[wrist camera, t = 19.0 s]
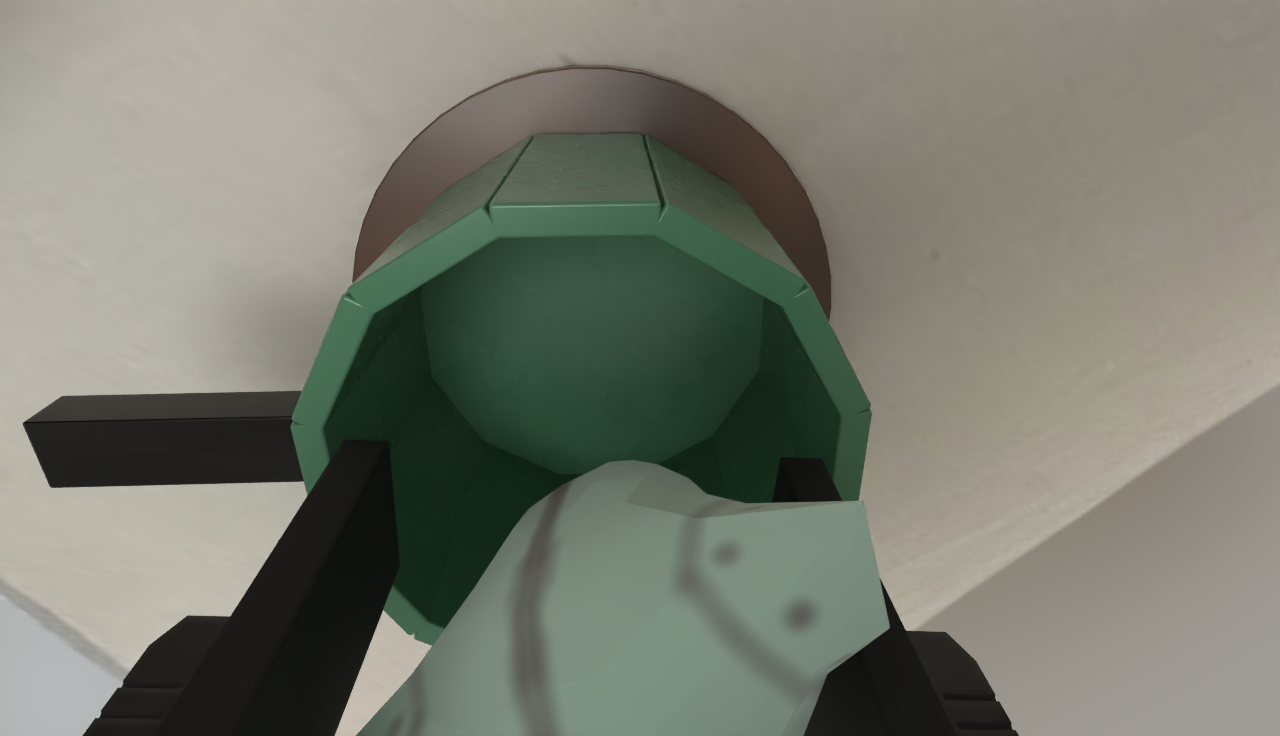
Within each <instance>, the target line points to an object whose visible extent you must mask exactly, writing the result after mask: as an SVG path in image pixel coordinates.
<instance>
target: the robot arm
mask: <svg viewBox="0 0 1280 736" xmlns="http://www.w3.org/2000/svg"><path fill="white" fill-rule="evenodd" d="M828 501H842V499H841V497H840V495H839V492H838V490H837V488H836V486H835V484H834V482H833V480H832V478H831V476H830V474H829V472H828V470H827V468H826V466H825V464H824V462H823V460H822V459H817V458H793V457H780V462H779V467H778V473H777V478H776V484H775V489H774V495H773V500H772V503H787V502H828ZM399 567H400V557H399V546H398V535H397V525H396V514H395V503H394V492H393V481H392V471H391V460H390V449H389V441H370V440H345V439H344V440H343V441H342V443H341V444H340V446H339V448H338V449H337V451H336V452H335V454H334V455H333V457H332V458H331V460H330V462H329V463H328V465H327V466H326V468H325V469H324V471H323V473H322V474H321V476H320V477H319V479H318V480H317V482H316V484H315V485H314V487H313V488H312V490H311V491H310V493H309V494H308V496H307V498H306V499H305V501H304V502H303V504H302V505H301V507H300V509H299V510H298V512H297V513H296V515H295V516H294V518H293V520H292V521H291V523H290V524H289V526H288V527H287V529H286V530H285V532H284V534H283V535H282V537H281V538H280V540H279V541H278V543H277V545H276V546H275V548H274V549H273V551H272V552H271V554H270V555H269V557H268V559H267V560H266V562H265V563H264V565H263V566H262V568H261V570H260V571H259V573H258V574H257V576H256V577H255V579H254V581H253V582H252V584H251V585H250V587H249V588H248V590H247V591H246V593H245V595H244V596H243V598H242V599H241V601H240V602H239V604H238V606H237V607H236V609H235V610H234V612H233V613H232V615H231V617H223V616H187V617H185V618H184V619H183V620H181V621H180V622H179V623H177V624H176V625H175V626H174V627H172V628H171V629H170V630H168V631H167V632H166V633H165V634H163V635H162V636H161V637H159V638H158V639H157V640H156V641H154V642H153V643H152V644H150V645H149V647H148V648H147V649H146V651H145V652H144V653H143V655H142V656H141V657H140V659H139V660H138V661H137V663H136V664H135V665H134V667H133V668H132V670H131V671H130V672H129V674H128V675H127V676H126V678H125V679H124V680H123V686H122V687H121V688H117V690H116V691H115V693H114V694H113V695H112V697H111V698H110V699H109V701H108V702H107V703H106V705H105V706H104V707H103V709H102V710H101V716H100V717H99V718H95V720H94V721H93V722H92V724H91V725H90V726H89V728H88V729H87V730H86V732H85V733H84V735H83V736H335V733H336V730H337V728H338V725H339V723H340V720H341V718H342V715H343V712H344V710H345V707H346V705H347V702H348V699H349V697H350V694H351V692H352V689H353V686H354V684H355V681H356V679H357V676H358V674H359V671H360V668H361V666H362V663H363V661H364V658H365V655H366V653H367V650H368V648H369V645H370V642H371V640H372V637H373V635H374V632H375V630H376V627H377V624H378V622H379V619H380V617H381V614H382V611H383V609H384V606H385V604H386V601H387V598H388V596H389V593H390V591H391V588H392V585H393V583H394V580H395V578H396V575H397V573H398V570H399ZM879 578H880V577H879ZM880 583H881V587H882V592H883V597H884V601H885V606H886V611H887V616H888V620H889V625H890V628H889V629H888V630H887V631H885V632H884V633H882V634H881V635H880V636H878V637H877V638H876V639H874V640H873V641H872V642H870V643H869V644H867V645H866V646H865V647H863V648H862V649H861V650H859V651H858V652H857V653H855V654H854V655H852V656H851V657H850V658H848V659H847V660H846V661H844V662H843V663H842V664H840V665H839V666H837V667H836V668H835V669H833V670H832V671H831V672H829V673H828V674H827V676H826V679H825V682H824V684H823V687H822V689H821V692H820V694H819V697H818V700H817V702H816V705H815V707H814V710H813V712H812V715H811V718H810V720H809V723H808V725H807V728H806V730H805V733H804V736H1019V735H1018V733H1017V732H1016V730H1012V727H1011V722H1010V719H1009V718H1008V716H1007V714H1006V713H1005V711H1004V709H1003V707H1002V706H1001V704H1000V702H999V701H998V702H997V701H996V699H995V693H994V692H993V690H992V688H991V686H990V685H989V683H988V681H987V679H986V678H985V676H984V674H983V672H982V671H981V669H980V667H979V665H978V664H977V662H976V661H975V660H974V659H973V658H972V657H971V656H970V655H969V654H968V653H967V652H966V651H965V650H964V649H963V648H962V647H961V646H960V645H959V644H958V643H956V642H955V641H954V640H953V639H952V638H951V637H950V636H949V635H948V634H947V633H946V632H924V631H906V630H905V628H904V626H903V624H902V622H901V620H900V618H899V616H898V614H897V612H896V610H895V608H894V606H893V604H892V601H891V599H890V597H889V595H888V593H887V591H886V589H885V587H884V585H883V583H882V581H881V579H880Z"/></svg>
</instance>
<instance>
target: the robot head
mask: <svg viewBox="0 0 1280 736" xmlns="http://www.w3.org/2000/svg"><path fill="white" fill-rule="evenodd" d="M889 628H890V625H889V620H888V616H887V611H886V606H885V601H884V597H883V592H882V587H881V583H880V578H879V573H878V569H877V564H876V559H875V554H874V550H873V545H872V540H871V536H870V531H869V526H868V522H867V517H866V512H865V507H864V503H863V501H828V502H787V503H743V502H739V501H734V500H730V499H726V498H721V497H717V496H713V495H709V494H706V493H705V492H704V491H702V490H701V489H700V488H699V487H698V486H697V485H696V484H695V483H694V482H692V481H691V480H690V479H689V478H687V477H685V476H682V475H680V474H678V473H676V472H673V471H671V470H669V469H667V468H664V467H662V466H660V465H658V464H653V463H648V462H642V461H636V460H626V461H612V462H608V463H606V464H604V465H602V466H600V467H598V468H596V469H594V470H592V471H590V472H588V473H586V474H584V475H582V476H580V477H578V478H576V479H574V480H572V481H570V482H568V483H566V484H564V485H562V486H560V487H559V488H558V489H556V490H555V491H553V492H552V493H550V494H549V495H547V496H546V497H545V498H543V499H542V500H540V501H539V502H537V503H536V504H534V505H533V506H532V507H530V508H529V509H528V510H527V512H526V513H525V514H524V515H523V517H522V518H521V519H520V520H519V522H518V523H517V524H516V526H515V527H514V528H513V530H512V531H511V533H510V534H509V536H508V537H507V539H506V540H505V542H504V543H503V545H502V546H501V548H500V549H499V551H498V552H497V554H496V556H495V557H494V559H493V560H492V562H491V563H490V565H489V566H488V568H487V569H486V571H485V572H484V574H483V575H482V577H481V578H480V580H479V582H478V583H477V585H476V586H475V588H474V589H473V590H472V592H471V593H470V595H469V596H468V597H467V599H466V600H465V601H464V603H463V604H462V606H461V607H460V608H459V610H458V611H457V613H456V614H455V615H454V617H453V618H452V619H451V621H450V622H449V624H448V625H447V626H446V628H445V629H444V631H443V632H442V633H441V635H440V636H439V638H438V639H437V640H436V642H435V643H434V644H433V646H432V647H431V649H430V650H429V651H428V653H427V654H426V656H425V657H424V658H423V660H422V661H421V663H420V664H419V665H418V667H417V668H416V669H415V671H414V672H413V674H412V675H411V676H410V677H409V678H408V679H407V680H406V681H405V682H404V684H403V685H402V686H401V687H400V688H399V689H398V690H397V691H396V692H395V693H394V695H393V696H392V697H391V698H390V699H389V700H388V701H387V702H386V703H385V704H384V706H383V707H382V708H381V709H380V710H379V711H378V712H377V713H376V714H375V715H374V716H373V718H372V719H371V720H370V721H369V722H368V723H367V724H366V725H365V726H364V727H363V729H362V730H361V731H360V732H359V733H358V734H357V735H356V736H804V733H805V730H806V728H807V725H808V723H809V720H810V718H811V715H812V712H813V710H814V707H815V705H816V702H817V700H818V697H819V694H820V692H821V689H822V687H823V684H824V682H825V679H826V676H827V674H828V673H829V672H831V671H832V670H833V669H835V668H836V667H837V666H839V665H840V664H842V663H843V662H844V661H846V660H847V659H848V658H850V657H851V656H852V655H854V654H855V653H857V652H858V651H859V650H861V649H862V648H863V647H865V646H866V645H867V644H869V643H870V642H872V641H873V640H874V639H876V638H877V637H878V636H880V635H881V634H882V633H884V632H885V631H887V630H888V629H889Z"/></svg>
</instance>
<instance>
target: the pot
mask: <svg viewBox="0 0 1280 736" xmlns="http://www.w3.org/2000/svg"><path fill="white" fill-rule="evenodd" d="M869 408H870V402H869V400H868V398H867V396H866V394H865V392H864V390H863V388H862V386H861V384H860V382H859V380H858V378H857V376H856V374H855V372H854V370H853V368H852V366H851V365H850V363H849V361H848V359H847V357H846V355H845V353H844V351H843V349H842V347H841V345H840V343H839V341H838V339H837V337H836V335H835V333H834V331H833V329H832V327H831V325H830V323H829V321H828V319H827V317H826V315H825V313H824V311H823V309H822V307H821V305H820V303H819V301H818V299H817V297H816V295H815V293H814V291H813V289H812V287H811V286H810V285H809V283H808V282H807V281H806V279H805V278H804V277H803V275H802V274H801V273H800V272H799V270H798V269H797V268H796V266H795V265H794V264H793V262H792V261H791V260H790V258H789V257H788V256H787V254H786V253H785V252H784V250H783V249H782V248H781V247H780V245H779V244H778V243H777V241H776V240H775V239H774V237H773V236H772V235H771V233H770V232H769V231H768V229H767V228H766V227H765V225H764V224H763V223H762V221H761V220H760V219H759V218H758V216H757V215H756V214H755V212H754V211H753V210H752V208H751V207H750V206H749V204H748V203H747V202H746V200H745V199H744V198H743V196H742V195H741V194H740V192H739V191H738V190H736V189H735V187H734V186H733V185H731V184H730V183H728V182H726V181H724V180H723V179H721V178H719V177H718V176H716V175H714V174H713V173H711V172H709V171H708V170H706V169H704V168H702V167H701V166H699V165H697V164H696V163H694V162H692V161H691V160H689V159H687V158H686V157H684V156H682V155H680V154H679V153H677V152H675V151H674V150H672V149H670V148H669V147H667V146H665V145H664V144H662V143H660V142H658V141H657V140H655V139H653V138H652V137H650V136H648V135H645V136H644V138H643V137H642V134H640V133H608V134H537V135H535V137H534V138H533V137H532V136H529V137H528V138H526V139H525V140H523V141H521V142H520V143H518V144H517V145H515V146H514V147H512V148H510V149H509V150H507V151H506V152H504V153H503V154H501V155H499V156H498V157H496V158H495V159H493V160H491V161H490V162H488V163H487V164H485V165H484V166H482V167H480V168H479V169H477V170H476V171H474V172H473V173H471V174H469V175H468V176H466V177H465V178H463V179H462V180H460V181H458V182H457V183H455V184H454V185H452V186H451V187H449V188H447V189H446V190H445V191H444V192H443V193H442V194H441V195H440V196H439V197H438V198H437V199H436V200H435V201H434V202H433V203H432V204H431V205H430V206H429V207H428V208H427V209H426V210H425V211H424V212H423V213H422V214H421V215H420V216H419V217H418V218H417V219H416V220H415V221H414V222H413V223H412V224H411V225H410V226H409V227H408V228H407V229H406V230H405V231H404V232H403V233H402V234H401V235H400V236H399V237H398V238H397V239H396V240H395V241H394V242H393V243H392V244H391V245H390V246H389V247H388V248H387V249H386V250H385V251H384V252H383V253H382V254H381V255H380V256H379V257H378V258H377V259H376V260H375V262H374V263H373V264H372V265H371V266H370V267H369V268H368V269H367V270H366V271H365V272H364V273H363V274H362V275H361V276H360V277H359V278H358V279H357V280H356V281H355V282H354V283H353V284H352V285H351V286H350V287H349V288H348V290H347V291H346V292H345V293H344V294H343V295H342V297H341V299H340V302H339V304H338V306H337V309H336V311H335V313H334V316H333V318H332V321H331V323H330V325H329V328H328V330H327V333H326V335H325V337H324V340H323V342H322V345H321V347H320V349H319V352H318V354H317V357H316V359H315V361H314V364H313V366H312V369H311V371H310V373H309V376H308V378H307V380H306V383H305V385H304V388H303V390H302V391H276V392H229V393H182V394H135V395H88V396H62V397H60V398H59V399H57V400H56V401H54V402H53V403H51V404H50V405H48V406H47V407H45V408H44V409H42V410H41V411H40V412H38V413H37V414H35V415H34V416H32V417H31V418H29V419H28V420H26V421H25V422H23V426H24V428H25V431H26V433H27V435H28V437H29V440H30V442H31V444H32V447H33V449H34V451H35V454H36V456H37V458H38V460H39V463H40V465H41V467H42V470H43V472H44V474H45V477H46V479H47V481H48V483H49V486H50V487H51V488H62V487H102V486H142V485H181V484H221V483H261V482H301V481H304V483H305V487H306V491H307V495H308V494H309V493H310V491H311V490H312V488H313V487H314V485H315V484H316V482H317V480H318V479H319V477H320V476H321V474H322V473H323V471H324V469H325V468H326V466H327V465H328V463H329V462H330V460H331V458H332V457H333V455H334V454H335V452H336V451H337V449H338V448H339V446H340V444H341V443H342V441H343V440H344V439H345V440H370V441H389V449H390V460H391V471H392V481H393V492H394V503H395V514H396V525H397V535H398V546H399V557H400V567H399V570H398V573H397V575H396V578H395V580H394V583H393V585H392V588H391V591H390V593H389V596H388V598H387V601H386V604H385V606H384V609H383V610H384V611H385V612H386V613H387V614H388V615H389V616H390V617H391V618H392V619H393V620H394V621H395V622H396V623H397V624H398V625H399V626H400V627H401V628H402V629H403V630H404V631H405V632H406V633H407V634H409V635H412V634H414V633H415V635H414V639H416V640H418V641H421V642H424V643H427V644H429V645H432V646H433V644H434V643H435V642H436V640H437V639H438V638H439V636H440V635H441V633H442V632H443V631H444V629H445V628H446V626H447V625H448V624H449V622H450V621H451V619H452V618H453V617H454V615H455V614H456V613H457V611H458V610H459V608H460V607H461V606H462V604H463V603H464V601H465V600H466V599H467V597H468V596H469V595H470V593H471V592H472V590H473V589H474V588H475V586H476V585H477V583H478V582H479V580H480V578H481V577H482V575H483V574H484V572H485V571H486V569H487V568H488V566H489V565H490V563H491V562H492V560H493V559H494V557H495V556H496V554H497V552H498V551H499V549H500V548H501V546H502V545H503V543H504V542H505V540H506V539H507V537H508V536H509V534H510V533H511V531H512V530H513V528H514V527H515V526H516V524H517V523H518V522H519V520H520V519H521V518H522V517H523V515H524V514H525V513H526V512H527V510H528V509H529V508H530V507H532V506H533V505H534V504H536V503H537V502H539V501H540V500H542V499H543V498H545V497H546V496H547V495H549V494H550V493H552V492H553V491H555V490H556V489H558V488H559V487H560V486H562V485H564V484H566V483H568V482H570V481H572V480H574V479H576V478H578V477H580V476H582V475H584V474H586V473H588V472H590V471H592V470H594V469H596V468H598V467H600V466H602V465H604V464H606V463H608V462H612V461H626V460H636V461H642V462H648V463H653V464H658V465H660V466H662V467H664V468H667V469H669V470H671V471H673V472H676V473H678V474H680V475H682V476H685V477H687V478H689V479H690V480H691V481H692V482H694V483H695V484H696V485H697V486H698V487H699V488H700V489H701V490H702V491H704V492H705V493H706V494H709V495H713V496H717V497H721V498H726V499H730V500H734V501H739V502H743V503H772V500H773V495H774V489H775V484H776V478H777V473H778V467H779V462H780V457H793V458H817V459H822V460H823V462H824V464H825V466H826V468H827V470H828V472H829V474H830V476H831V478H832V480H833V482H834V484H835V486H836V488H837V490H838V492H839V495H840V497H841V499H842V501H858V500H859V494H860V487H861V481H862V474H863V468H864V461H865V455H866V448H867V442H868V435H869V429H870V422H871V416H872V412H871V410H870V409H869Z"/></svg>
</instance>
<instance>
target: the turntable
mask: <svg viewBox="0 0 1280 736" xmlns="http://www.w3.org/2000/svg"><path fill="white" fill-rule="evenodd" d="M608 133H640V134H642V137H643V138H644V136H645V135H648V136H650V137H652V138H653V139H655V140H657V141H658V142H660V143H662V144H664V145H665V146H667V147H669V148H670V149H672V150H674V151H675V152H677V153H679V154H680V155H682V156H684V157H686V158H687V159H689V160H691V161H692V162H694V163H696V164H697V165H699V166H701V167H702V168H704V169H706V170H708V171H709V172H711V173H713V174H714V175H716V176H718V177H719V178H721V179H723V180H724V181H726V182H728V183H730V184H731V185H733V186H734V187H735V189H736V190H738V191H739V192H740V194H741V195H742V196H743V198H744V199H745V200H746V202H747V203H748V204H749V206H750V207H751V208H752V210H753V211H754V212H755V214H756V215H757V216H758V218H759V219H760V220H761V221H762V223H763V224H764V225H765V227H766V228H767V229H768V231H769V232H770V233H771V235H772V236H773V237H774V239H775V240H776V241H777V243H778V244H779V245H780V247H781V248H782V249H783V250H784V252H785V253H786V254H787V256H788V257H789V258H790V260H791V261H792V262H793V264H794V265H795V266H796V268H797V269H798V270H799V272H800V273H801V274H802V275H803V277H804V278H805V279H806V281H807V282H808V283H809V285H810V286H811V287H812V289H813V291H814V293H815V295H816V297H817V299H818V301H819V303H820V305H821V307H822V309H823V311H824V313H825V315H826V317H827V319H828V321H829V319H830V312H831V275H830V268H829V262H828V255H827V249H826V245H825V242H824V238H823V235H822V232H821V228H820V225H819V222H818V218H817V216H816V214H815V212H814V210H813V208H812V205H811V203H810V201H809V199H808V197H807V195H806V193H805V190H804V189H803V187H802V186H801V184H800V183H799V181H798V179H797V178H796V176H795V175H794V173H793V172H792V170H791V169H790V167H789V166H788V164H787V163H786V162H785V160H784V159H783V158H782V157H781V156H780V155H779V154H778V152H777V151H776V150H775V149H774V148H773V147H772V146H771V144H770V143H769V142H768V141H767V140H766V139H765V138H764V137H763V136H762V135H761V134H760V133H758V132H757V131H756V130H755V129H754V128H753V127H751V126H750V125H749V124H748V123H747V122H746V121H744V120H743V119H742V118H741V117H740V116H739V115H737V114H736V113H734V112H733V111H731V110H730V109H728V108H727V107H725V106H724V105H722V104H720V103H719V102H717V101H716V100H714V99H713V98H711V97H709V96H708V95H706V94H704V93H702V92H700V91H698V90H695V89H693V88H691V87H689V86H687V85H684V84H682V83H680V82H678V81H676V80H673V79H669V78H666V77H662V76H659V75H656V74H652V73H649V72H645V71H642V70H635V69H628V68H622V67H615V66H608V65H572V66H565V67H558V68H550V69H543V70H538V71H534V72H531V73H527V74H524V75H520V76H517V77H513V78H510V79H506V80H504V81H502V82H500V83H497V84H495V85H493V86H491V87H489V88H486V89H484V90H482V91H480V92H478V93H475V94H473V95H472V96H470V97H468V98H466V99H465V100H463V101H462V102H460V103H459V104H457V105H456V106H454V107H452V108H451V109H449V110H448V111H446V112H445V113H443V114H442V115H440V116H439V117H438V118H437V119H435V120H434V121H433V122H432V123H431V124H430V125H429V126H427V127H426V128H425V129H424V130H423V131H422V132H421V133H419V134H418V135H417V136H416V137H415V138H414V139H413V140H412V141H411V143H410V144H409V145H408V146H407V147H406V149H405V150H404V151H403V152H402V153H401V154H400V156H399V157H398V158H397V159H396V160H395V162H394V163H393V164H392V166H391V167H390V169H389V171H388V172H387V174H386V176H385V177H384V179H383V180H382V182H381V184H380V185H379V187H378V188H377V190H376V192H375V194H374V197H373V199H372V201H371V204H370V206H369V208H368V211H367V213H366V216H365V218H364V220H363V224H362V228H361V232H360V236H359V240H358V243H357V247H356V252H355V261H354V271H353V280H352V282H353V283H354V282H355V281H356V280H357V279H358V278H359V277H360V276H361V275H362V274H363V273H364V272H365V271H366V270H367V269H368V268H369V267H370V266H371V265H372V264H373V263H374V262H375V260H376V259H377V258H378V257H379V256H380V255H381V254H382V253H383V252H384V251H385V250H386V249H387V248H388V247H389V246H390V245H391V244H392V243H393V242H394V241H395V240H396V239H397V238H398V237H399V236H400V235H401V234H402V233H403V232H404V231H405V230H406V229H407V228H408V227H409V226H410V225H411V224H412V223H413V222H414V221H415V220H416V219H417V218H418V217H419V216H420V215H421V214H422V213H423V212H424V211H425V210H426V209H427V208H428V207H429V206H430V205H431V204H432V203H433V202H434V201H435V200H436V199H437V198H438V197H439V196H440V195H441V194H442V193H443V192H444V191H445V190H446V189H447V188H449V187H451V186H452V185H454V184H455V183H457V182H458V181H460V180H462V179H463V178H465V177H466V176H468V175H469V174H471V173H473V172H474V171H476V170H477V169H479V168H480V167H482V166H484V165H485V164H487V163H488V162H490V161H491V160H493V159H495V158H496V157H498V156H499V155H501V154H503V153H504V152H506V151H507V150H509V149H510V148H512V147H514V146H515V145H517V144H518V143H520V142H521V141H523V140H525V139H526V138H528V137H529V136H532V137H533V138H534V137H535V135H537V134H608Z"/></svg>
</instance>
